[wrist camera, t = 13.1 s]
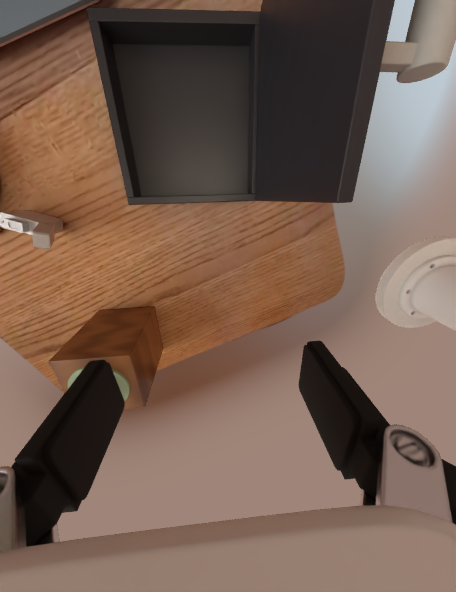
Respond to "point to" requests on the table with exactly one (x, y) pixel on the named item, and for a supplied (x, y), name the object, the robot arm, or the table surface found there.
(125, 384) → the coaster
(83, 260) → the table surface
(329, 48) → the lid
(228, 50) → the shallow square tray
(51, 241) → the lighter
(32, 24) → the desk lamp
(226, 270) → the table surface
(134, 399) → the stand
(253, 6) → the table surface
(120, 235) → the table surface
